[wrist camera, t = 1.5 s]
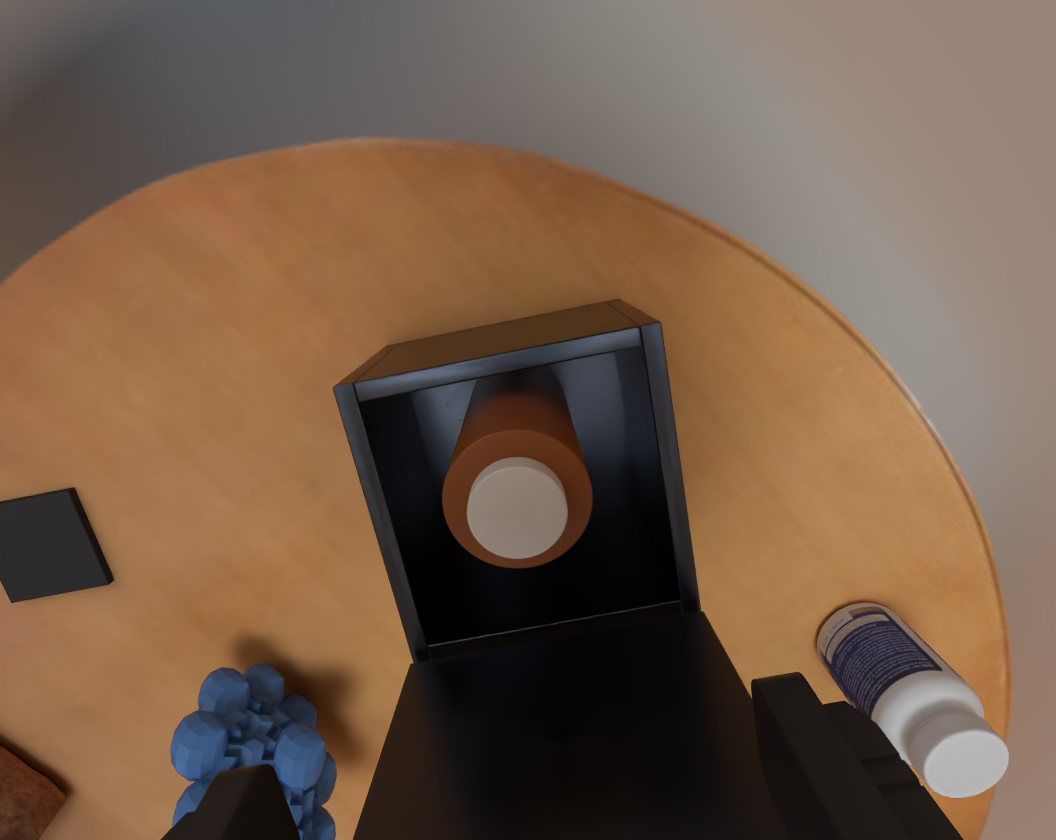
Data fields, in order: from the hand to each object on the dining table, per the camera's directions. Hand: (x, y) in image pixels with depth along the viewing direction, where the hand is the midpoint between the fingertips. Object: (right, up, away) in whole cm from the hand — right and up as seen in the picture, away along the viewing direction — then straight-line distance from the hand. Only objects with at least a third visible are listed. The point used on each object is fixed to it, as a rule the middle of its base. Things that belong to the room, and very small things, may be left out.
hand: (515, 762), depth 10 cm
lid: (+1, -5, +9) cm, 11 cm away
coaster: (-28, -2, +26) cm, 38 cm away
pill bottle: (+21, -8, +28) cm, 36 cm away
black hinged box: (0, +5, +24) cm, 25 cm away
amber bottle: (0, +6, +23) cm, 24 cm away
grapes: (-13, -11, +29) cm, 34 cm away
